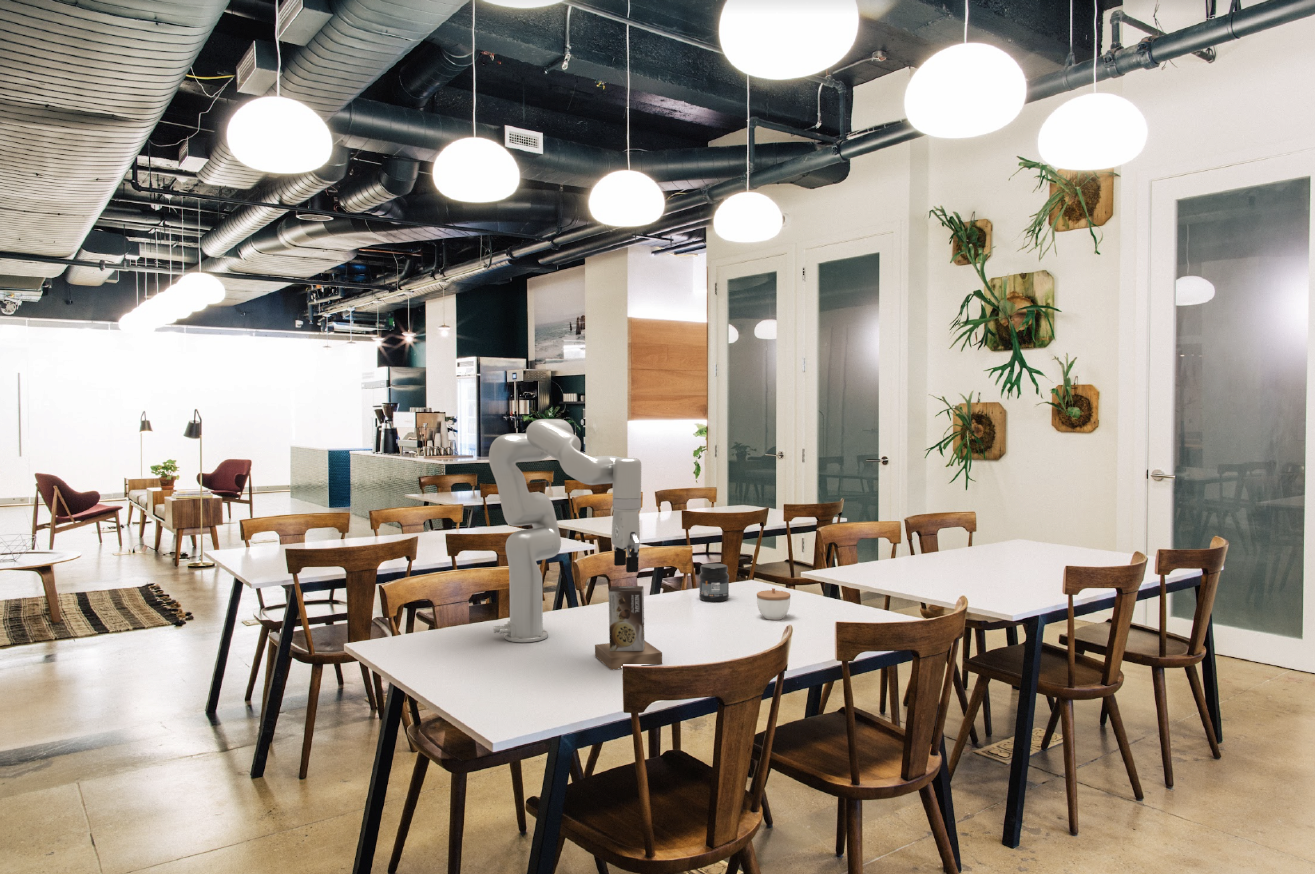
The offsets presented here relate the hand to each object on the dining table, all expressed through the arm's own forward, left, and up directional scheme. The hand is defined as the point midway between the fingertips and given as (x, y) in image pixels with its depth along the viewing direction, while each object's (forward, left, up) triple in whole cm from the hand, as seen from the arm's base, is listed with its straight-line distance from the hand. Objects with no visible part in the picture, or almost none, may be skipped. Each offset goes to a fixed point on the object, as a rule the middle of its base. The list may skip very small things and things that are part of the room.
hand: (626, 568), depth 223 cm
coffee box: (0, 0, -21) cm, 21 cm away
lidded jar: (+59, +27, -25) cm, 69 cm away
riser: (0, 0, -24) cm, 24 cm away
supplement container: (+53, +59, -25) cm, 83 cm away
